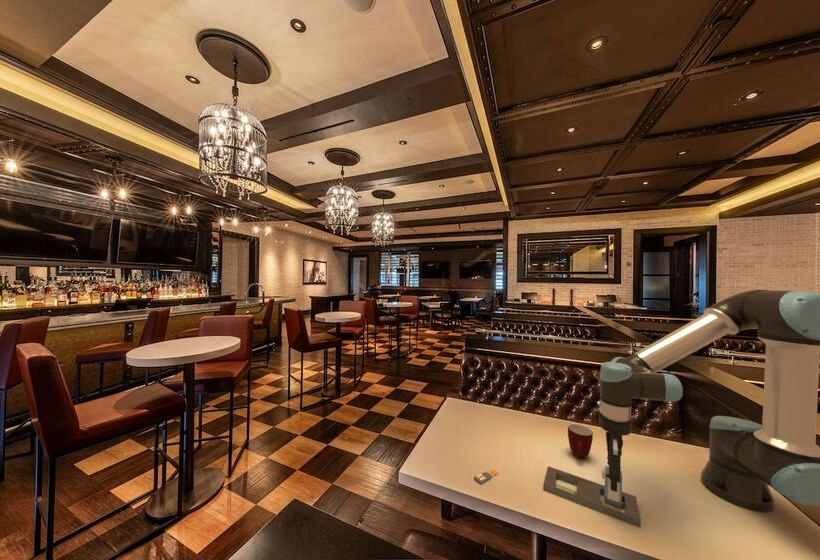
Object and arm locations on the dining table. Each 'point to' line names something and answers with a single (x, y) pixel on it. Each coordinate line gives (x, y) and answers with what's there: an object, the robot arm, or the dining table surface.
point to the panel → (591, 496)
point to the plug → (604, 472)
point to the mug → (580, 440)
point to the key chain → (485, 477)
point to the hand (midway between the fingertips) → (612, 494)
